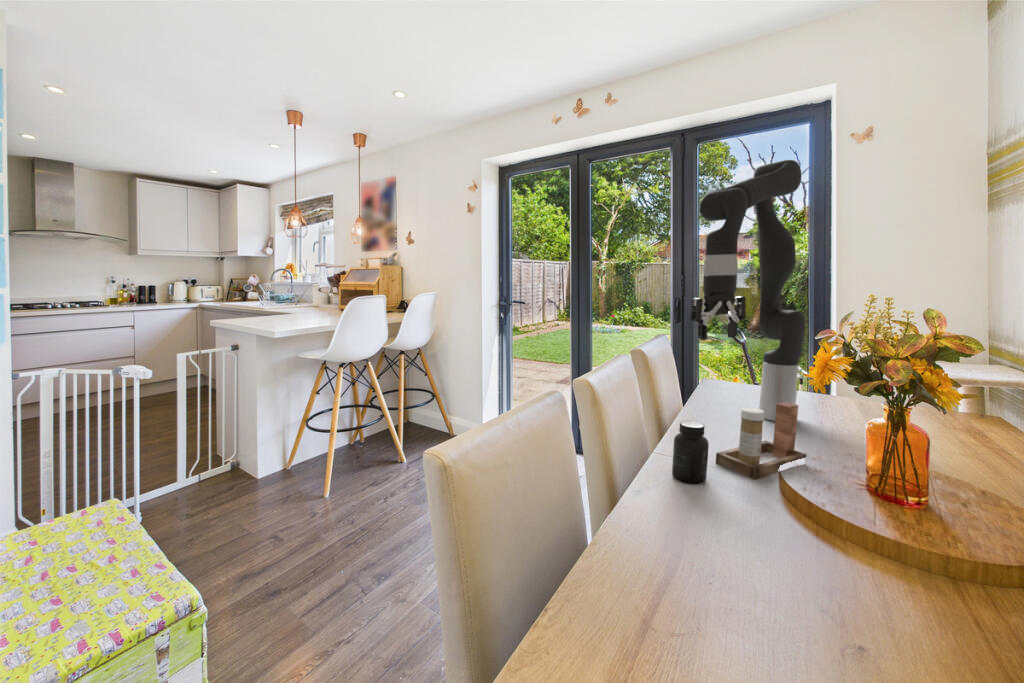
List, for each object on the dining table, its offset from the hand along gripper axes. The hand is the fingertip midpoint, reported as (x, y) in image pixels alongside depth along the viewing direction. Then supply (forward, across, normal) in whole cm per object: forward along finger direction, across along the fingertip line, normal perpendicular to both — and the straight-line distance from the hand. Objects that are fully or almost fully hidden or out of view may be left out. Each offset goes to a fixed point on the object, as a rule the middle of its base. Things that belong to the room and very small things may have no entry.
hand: (717, 338), depth 113 cm
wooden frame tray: (+27, -1, +15) cm, 31 cm away
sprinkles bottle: (+27, +3, +16) cm, 32 cm away
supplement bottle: (+27, +20, +17) cm, 38 cm away
